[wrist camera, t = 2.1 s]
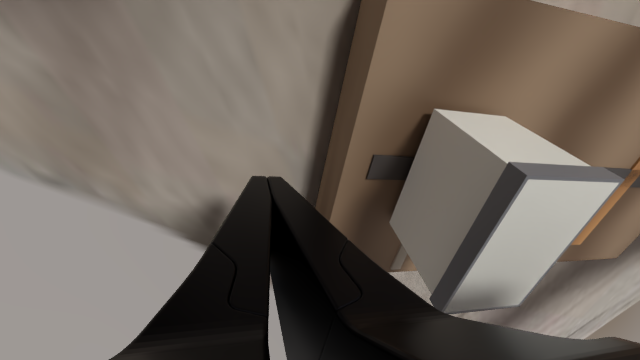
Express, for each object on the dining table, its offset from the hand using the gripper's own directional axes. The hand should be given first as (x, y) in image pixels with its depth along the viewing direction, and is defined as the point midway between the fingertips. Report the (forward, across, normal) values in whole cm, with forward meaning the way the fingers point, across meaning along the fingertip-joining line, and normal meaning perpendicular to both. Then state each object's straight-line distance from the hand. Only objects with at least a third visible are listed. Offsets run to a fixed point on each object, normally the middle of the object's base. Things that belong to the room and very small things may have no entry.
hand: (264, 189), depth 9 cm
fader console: (+4, -13, 0) cm, 13 cm away
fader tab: (+1, -7, 0) cm, 7 cm away
